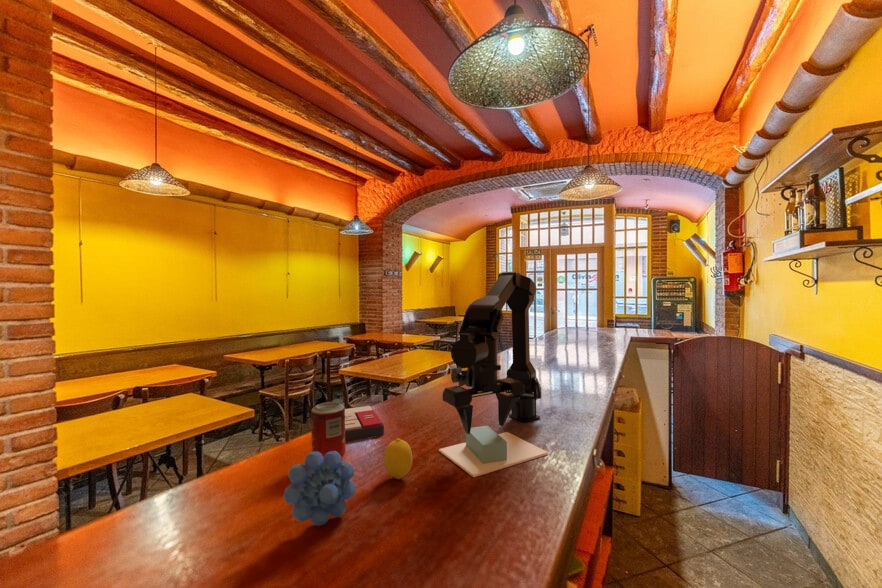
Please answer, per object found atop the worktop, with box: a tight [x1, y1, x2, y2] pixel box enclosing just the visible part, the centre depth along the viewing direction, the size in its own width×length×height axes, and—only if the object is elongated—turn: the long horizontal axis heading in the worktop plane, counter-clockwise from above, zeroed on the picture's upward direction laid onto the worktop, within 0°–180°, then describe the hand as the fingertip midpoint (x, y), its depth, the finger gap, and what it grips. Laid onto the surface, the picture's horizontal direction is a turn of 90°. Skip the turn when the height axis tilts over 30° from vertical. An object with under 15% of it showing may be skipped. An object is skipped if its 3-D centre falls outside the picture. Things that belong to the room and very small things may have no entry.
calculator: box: [345, 405, 385, 443], centre depth 102 cm, size 11×4×15 cm
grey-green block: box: [465, 425, 507, 464], centre depth 85 cm, size 10×6×4 cm, turn 17°
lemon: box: [383, 437, 414, 480], centre depth 74 cm, size 6×6×8 cm
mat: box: [438, 431, 549, 478], centre depth 86 cm, size 20×14×1 cm
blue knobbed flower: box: [283, 451, 357, 527], centre depth 60 cm, size 12×7×12 cm, turn 130°
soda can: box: [310, 401, 346, 459], centre depth 83 cm, size 7×7×12 cm
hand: (484, 429), depth 85 cm, fingers open, 9 cm apart
